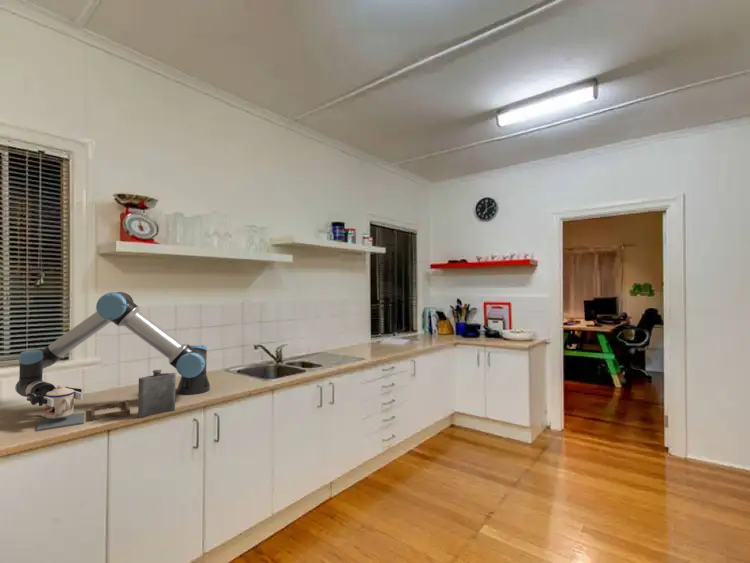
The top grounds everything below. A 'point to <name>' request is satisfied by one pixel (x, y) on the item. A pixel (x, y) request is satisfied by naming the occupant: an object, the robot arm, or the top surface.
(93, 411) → the brown wooden tray
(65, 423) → the slate mat
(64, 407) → the teacup with lid
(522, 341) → the top surface
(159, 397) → the flask
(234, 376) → the top surface
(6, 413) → the top surface
